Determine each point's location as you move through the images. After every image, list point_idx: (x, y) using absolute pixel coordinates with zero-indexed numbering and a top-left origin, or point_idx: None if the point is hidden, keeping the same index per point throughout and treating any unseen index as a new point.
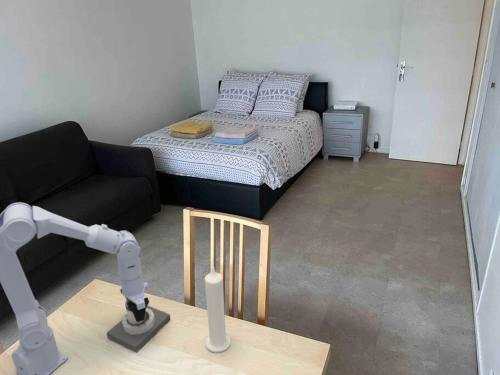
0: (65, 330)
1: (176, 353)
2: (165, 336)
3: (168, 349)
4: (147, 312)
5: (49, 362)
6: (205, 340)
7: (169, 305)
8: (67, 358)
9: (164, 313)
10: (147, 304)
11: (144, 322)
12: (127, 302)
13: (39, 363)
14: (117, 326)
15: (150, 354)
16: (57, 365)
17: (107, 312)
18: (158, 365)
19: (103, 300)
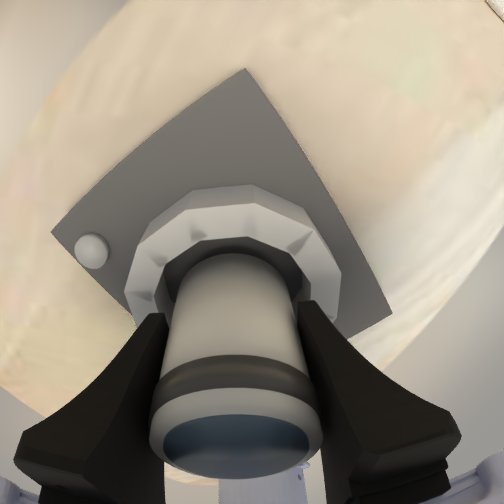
0: None
1: (484, 144)
2: (369, 144)
3: (450, 164)
4: (196, 241)
5: (288, 477)
6: (501, 8)
7: (97, 53)
8: None
9: (213, 103)
10: (437, 411)
11: (272, 266)
12: (235, 477)
13: (295, 493)
14: None
15: (425, 244)
16: None
17: (71, 349)
18: (483, 229)
19: (9, 343)
